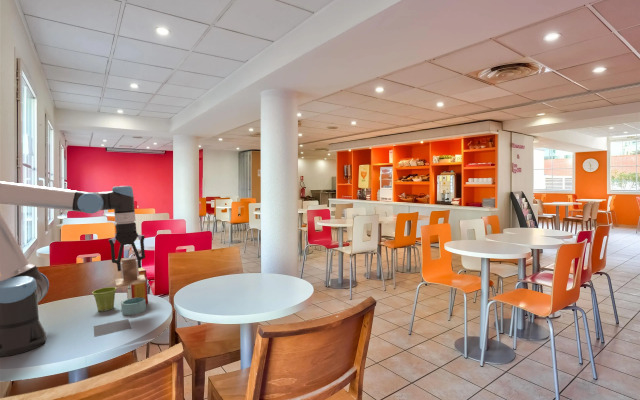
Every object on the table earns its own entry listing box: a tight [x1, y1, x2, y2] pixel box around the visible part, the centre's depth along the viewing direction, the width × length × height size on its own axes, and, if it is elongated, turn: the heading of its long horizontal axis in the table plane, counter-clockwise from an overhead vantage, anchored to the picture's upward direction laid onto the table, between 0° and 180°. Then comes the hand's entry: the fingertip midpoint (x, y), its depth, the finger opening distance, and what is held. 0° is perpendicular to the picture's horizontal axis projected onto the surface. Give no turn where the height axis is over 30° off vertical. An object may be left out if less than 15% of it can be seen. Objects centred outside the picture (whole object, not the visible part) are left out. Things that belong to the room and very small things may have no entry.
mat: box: [93, 318, 132, 338], centre depth 137 cm, size 12×12×1 cm
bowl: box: [120, 297, 147, 316], centre depth 154 cm, size 9×9×5 cm
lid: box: [114, 256, 146, 288], centre depth 150 cm, size 11×11×10 cm
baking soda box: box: [126, 266, 149, 304], centre depth 167 cm, size 10×6×16 cm
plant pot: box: [91, 286, 118, 312], centre depth 159 cm, size 9×9×9 cm
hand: (130, 276), depth 150 cm, fingers closed on lid, 5 cm apart
